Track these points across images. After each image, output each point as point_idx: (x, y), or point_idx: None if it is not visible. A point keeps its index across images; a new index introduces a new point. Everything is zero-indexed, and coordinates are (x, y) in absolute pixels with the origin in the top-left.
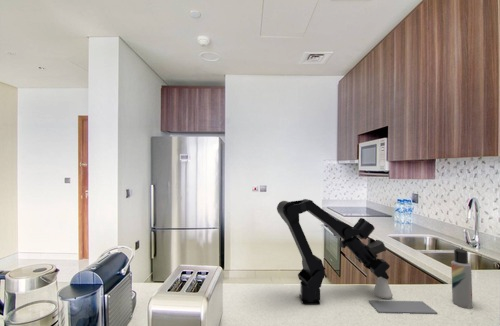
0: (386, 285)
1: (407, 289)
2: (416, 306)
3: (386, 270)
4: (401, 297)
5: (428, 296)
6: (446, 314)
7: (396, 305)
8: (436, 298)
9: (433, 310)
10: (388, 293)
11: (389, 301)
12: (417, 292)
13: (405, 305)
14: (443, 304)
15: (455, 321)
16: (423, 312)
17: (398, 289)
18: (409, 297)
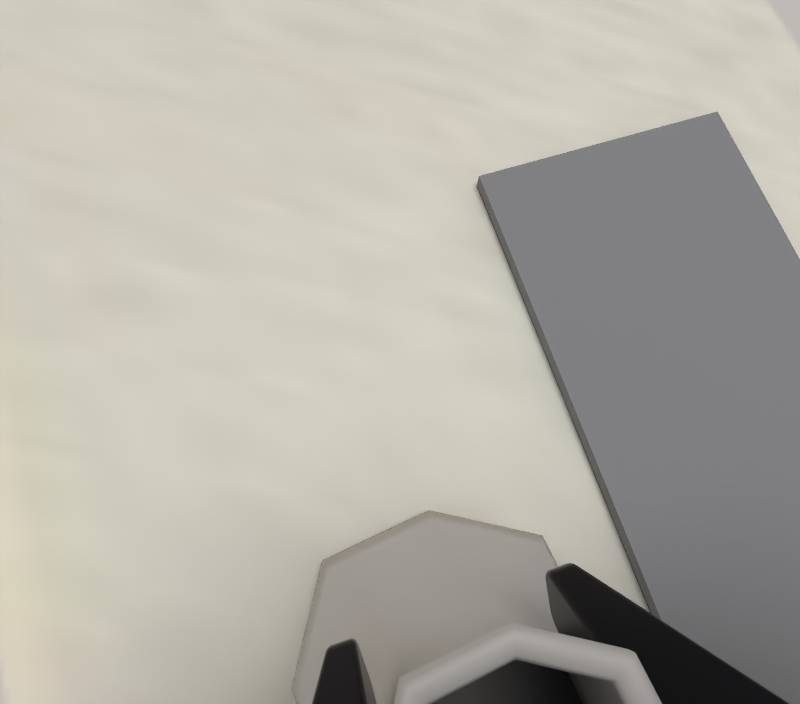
0: None
1: (106, 255)
2: (666, 277)
3: (552, 632)
4: (411, 392)
5: (265, 79)
6: (668, 48)
7: (765, 522)
8: (295, 20)
9: (681, 132)
10: None
11: (677, 600)
12: (177, 161)
13: (706, 402)
14: (432, 4)
15: (782, 24)
16: (790, 243)
17: (136, 374)
18: (373, 292)
